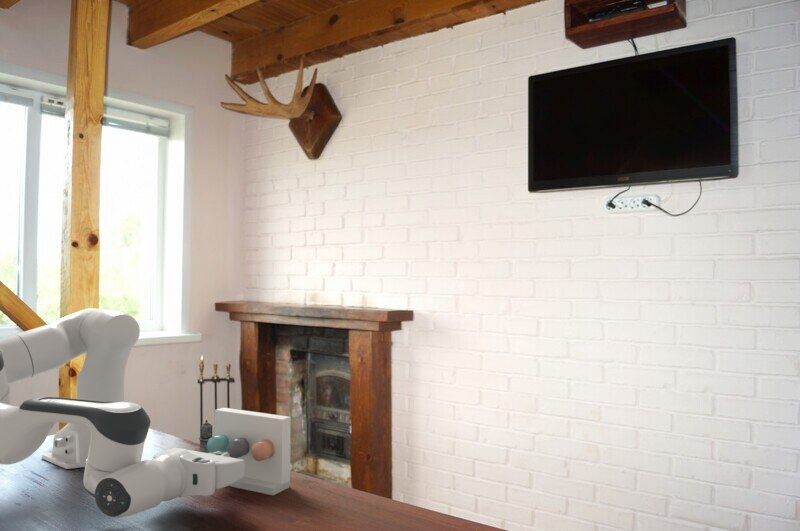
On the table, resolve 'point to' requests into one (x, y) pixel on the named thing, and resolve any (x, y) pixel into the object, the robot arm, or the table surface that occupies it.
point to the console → (256, 428)
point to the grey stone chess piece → (205, 436)
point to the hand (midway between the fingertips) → (224, 455)
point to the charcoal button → (238, 448)
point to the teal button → (217, 443)
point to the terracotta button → (262, 450)
